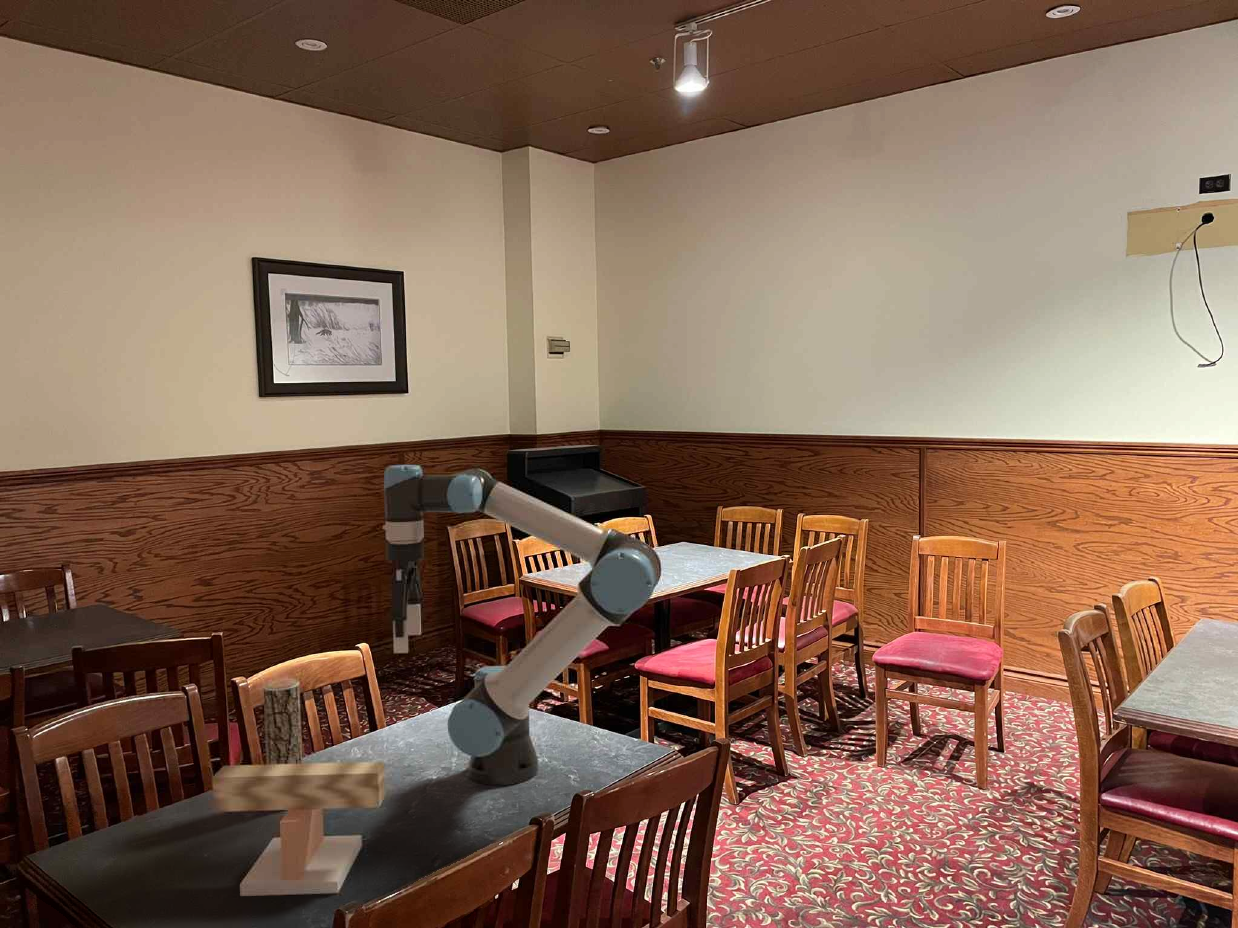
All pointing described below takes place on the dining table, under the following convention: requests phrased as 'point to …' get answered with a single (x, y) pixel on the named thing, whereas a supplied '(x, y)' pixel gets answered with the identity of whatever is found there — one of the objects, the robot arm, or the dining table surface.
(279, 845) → the balance stand
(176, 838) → the dining table surface
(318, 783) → the birch beam
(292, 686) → the bark-covered stump
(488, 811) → the dining table surface
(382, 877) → the dining table surface
